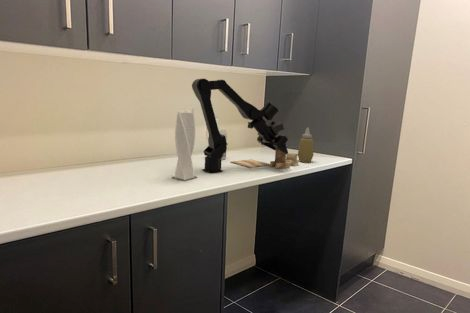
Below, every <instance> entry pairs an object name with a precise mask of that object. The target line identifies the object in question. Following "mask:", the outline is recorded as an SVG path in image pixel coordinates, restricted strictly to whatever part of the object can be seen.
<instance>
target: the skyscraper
mask: <svg viewBox="0 0 470 313" xmlns="http://www.w3.org/2000/svg"><path fill="white" fill-rule="evenodd" d="M194 109H195V107H194V106H193V105H192V106H191V111H190V109H181V111H180V109H178V110H177V114H176V121H175V129H174V130H175V131H174V140H175V141H174V142H175V149H176V155H177V160H176V161H177V162H176V167H175V172H174V173H175V174H174V176H171V179H175V180H177V181H183V182H186V181H190V180H194V179H197V178H198V176H196V175H195V174H194V167H193V160H192V159H193V158H192V154H193V152H194V146H195V140H196V123H195V122H196V120H195V113H194V111H195V110H194Z"/></svg>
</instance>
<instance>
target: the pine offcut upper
mask: <svg viewBox="0 0 470 313" xmlns="http://www.w3.org/2000/svg"><path fill="white" fill-rule="evenodd" d="M286 160H292V161H294V160H298V153H295V152H288V154H286Z"/></svg>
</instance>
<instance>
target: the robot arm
mask: <svg viewBox="0 0 470 313" xmlns="http://www.w3.org/2000/svg"><path fill="white" fill-rule="evenodd" d="M191 87H192V88H191V89H192V90H193V94H194V96H195V97H196V98H197V100H198V101H199V103H200V107H201V111H202V115H203V118H204V122H205V124H206V125H205V126H206V129H207V132H208V139H207V143H208V146H206V148H205V149H204V150H203V154H204V155H203V156H205V157H204V168H202V169H201V170H202V171H204V172H206V173H210V174H215V173H222V172H223V169H222V160H221V158H222V156H223V154H224V152H225V151H226V152H227V149H228V147H227V146H228V141H227V142H226V137H225V136H224V135H221V134H220V133H219V130H218V129H219V126H218V123H217V120H216V115H215V111H214V107H213V104H212V100H211V98H212V90H213V91H216V90H218V91H219V92H220V94H222V95H223V96H225V98H226V99H228V100H229V102H231V103H232V104H233V105H234V106H235V107H236V108H237V110H238V113H239V114H240V115H241V117H242V118H243V119H245V120H250V121H247V128H248V129H250V130H251V129H253V128H254V130H255V131H256V132H257V138H256V141H257V142H258V143H259V144H261V146H262V145H263V146H265V147H267V148H269V149H271V150H273V151H275V152H276V149H278V150H280V151H282V152H283V153H285V154H288V153H289V151H288V148H287V145H286V143H287V142H288V141H289V138H288V136H287V135H283V134H279V132H281V131H283V130H285V126H284V124H283V122H282V121H281V122H280V121H273V119H274V118H275V117H276V116H277V115H278V113H279V109H278V108H277V107H276V106H275V105H273V104H271V102H269V101H268V102H266V103H265V104H264V106H263V107H262V108H261V109H258V108H257V107H256V106H254V105H253V104H251V103H249V102H248V101H246V100H244V99H243V98H242V96H240V95H239V93H238V92H236V91H235V90H234V89H233V88H232V87H231V86H230V85H229V84H228V83H227V82H226V80H225V79H216V80H208V79H207V78H196V79H195V80H194V81H193V82H192V84H191ZM267 122H269V124H268V123H267ZM226 145H227V146H226Z"/></svg>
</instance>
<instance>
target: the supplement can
mask: <svg viewBox="0 0 470 313" xmlns="http://www.w3.org/2000/svg"><path fill="white" fill-rule="evenodd" d="M218 130H219V133H220V134H221V135H224V136H225V137H226V142H227V143H228V132H227V129H223V128H218ZM226 146H228V145H226ZM226 158H227V150H226V151H225V152H224V154H223V156H222V158H221V161H222V160H223V161H224V160H225V159H226Z"/></svg>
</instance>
